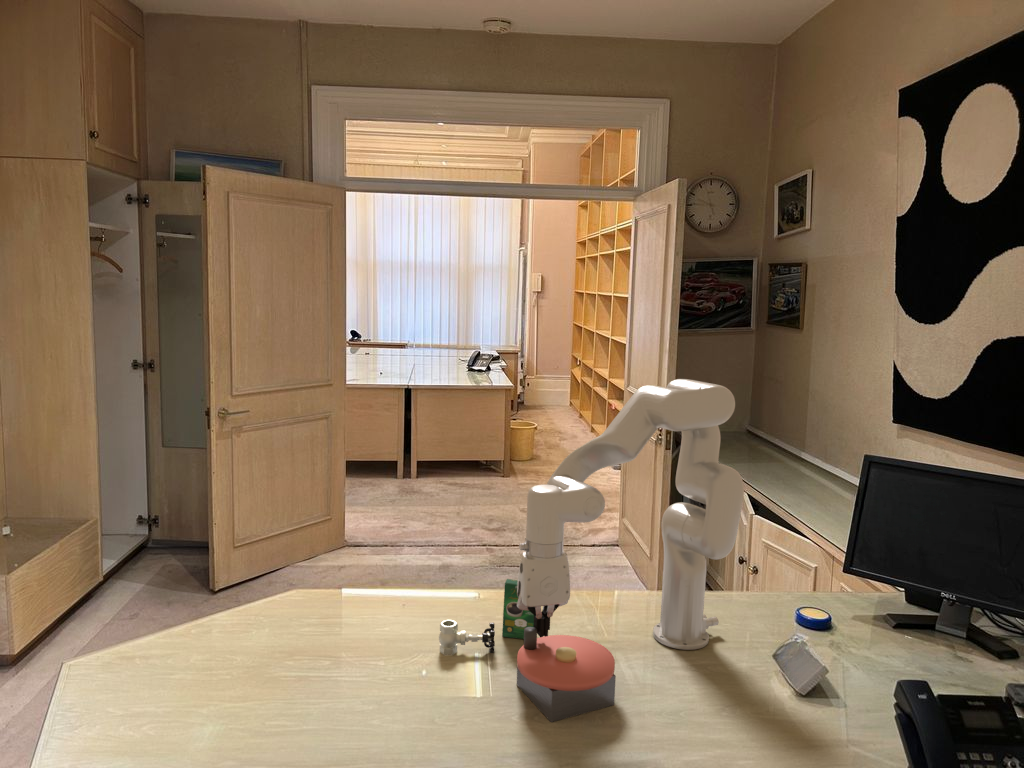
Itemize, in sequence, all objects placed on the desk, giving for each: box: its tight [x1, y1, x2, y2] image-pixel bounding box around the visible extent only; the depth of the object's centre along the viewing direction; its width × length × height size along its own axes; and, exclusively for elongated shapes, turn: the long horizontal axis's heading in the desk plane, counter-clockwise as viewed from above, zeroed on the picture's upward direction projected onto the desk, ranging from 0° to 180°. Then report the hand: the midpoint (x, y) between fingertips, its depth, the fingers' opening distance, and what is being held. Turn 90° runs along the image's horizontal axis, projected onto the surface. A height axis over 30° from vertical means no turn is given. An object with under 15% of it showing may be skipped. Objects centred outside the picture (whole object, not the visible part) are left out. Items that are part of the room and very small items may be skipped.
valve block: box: [516, 665, 617, 723], centre depth 144 cm, size 14×14×6 cm
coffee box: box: [501, 578, 534, 640], centre depth 167 cm, size 8×3×13 cm, turn 79°
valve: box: [438, 619, 496, 656], centre depth 160 cm, size 7×7×12 cm
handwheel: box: [516, 627, 616, 691], centre depth 143 cm, size 19×19×5 cm
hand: (541, 633), depth 150 cm, fingers closed
